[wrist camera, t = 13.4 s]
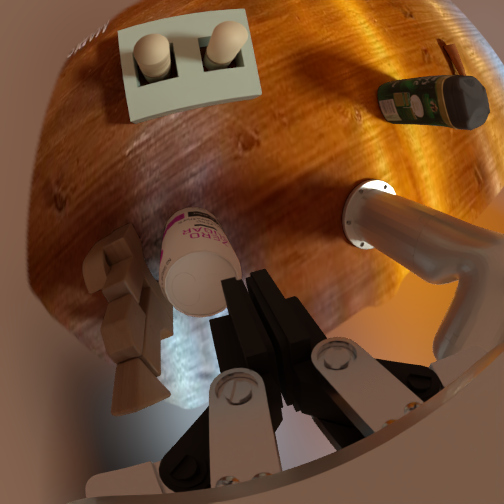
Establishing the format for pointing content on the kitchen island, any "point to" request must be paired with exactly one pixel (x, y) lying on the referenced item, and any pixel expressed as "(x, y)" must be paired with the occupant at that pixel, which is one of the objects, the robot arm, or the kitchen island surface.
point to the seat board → (192, 64)
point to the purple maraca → (455, 58)
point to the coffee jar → (435, 101)
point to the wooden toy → (130, 318)
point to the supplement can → (196, 262)
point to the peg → (153, 57)
